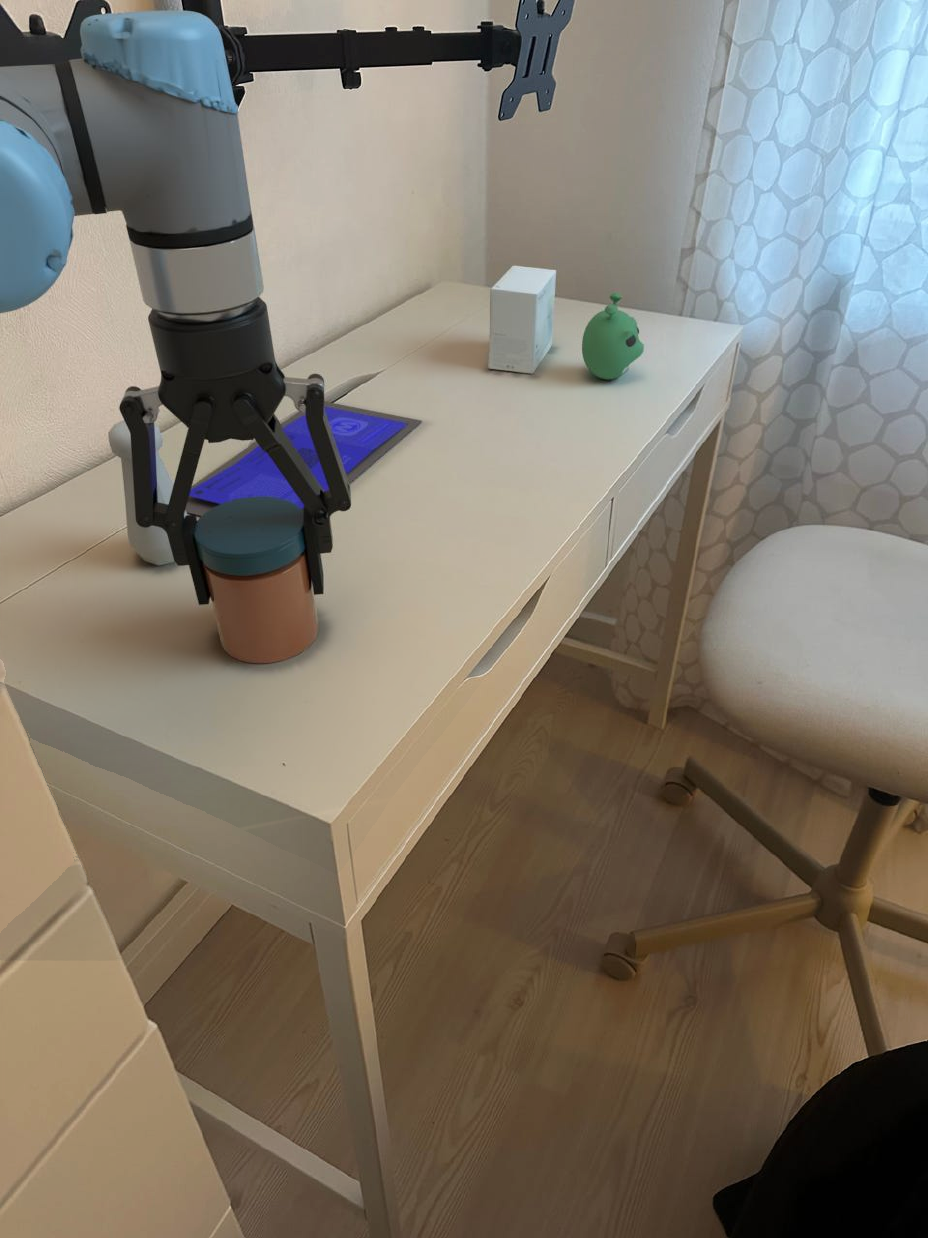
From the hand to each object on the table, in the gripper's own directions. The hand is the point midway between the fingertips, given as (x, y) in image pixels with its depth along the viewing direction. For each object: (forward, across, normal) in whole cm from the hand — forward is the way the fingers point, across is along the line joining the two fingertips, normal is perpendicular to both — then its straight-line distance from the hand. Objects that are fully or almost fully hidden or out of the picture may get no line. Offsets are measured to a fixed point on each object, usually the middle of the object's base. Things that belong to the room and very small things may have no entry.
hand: (262, 589), depth 71 cm
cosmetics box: (+5, -31, -55) cm, 63 cm away
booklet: (+4, -2, -30) cm, 30 cm away
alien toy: (+5, -41, -47) cm, 62 cm away
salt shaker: (+4, +10, -14) cm, 18 cm away
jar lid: (-6, 0, 0) cm, 6 cm away
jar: (+4, 0, 0) cm, 4 cm away
